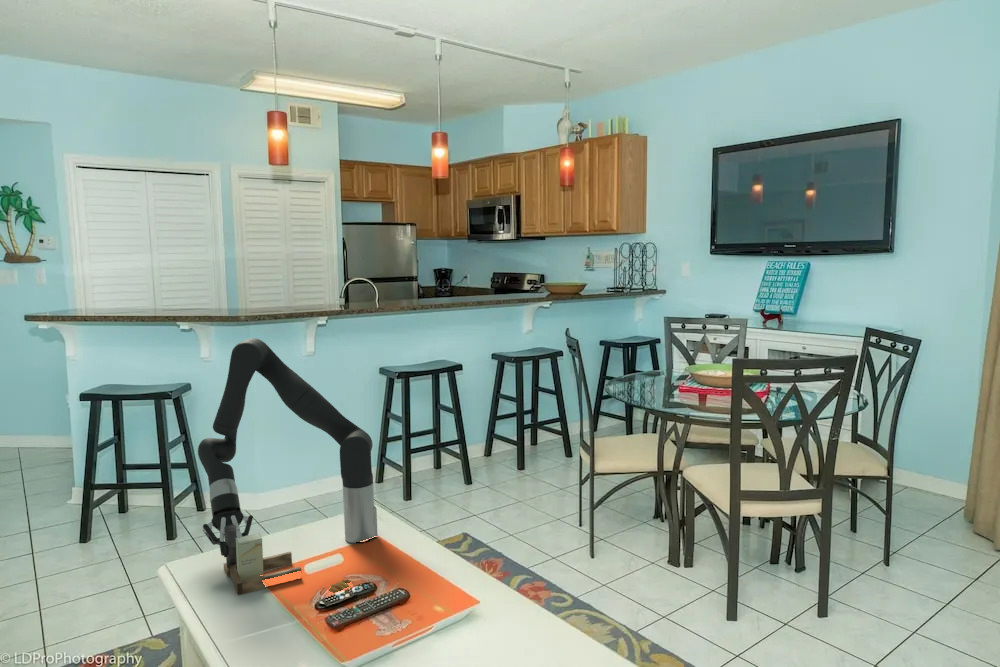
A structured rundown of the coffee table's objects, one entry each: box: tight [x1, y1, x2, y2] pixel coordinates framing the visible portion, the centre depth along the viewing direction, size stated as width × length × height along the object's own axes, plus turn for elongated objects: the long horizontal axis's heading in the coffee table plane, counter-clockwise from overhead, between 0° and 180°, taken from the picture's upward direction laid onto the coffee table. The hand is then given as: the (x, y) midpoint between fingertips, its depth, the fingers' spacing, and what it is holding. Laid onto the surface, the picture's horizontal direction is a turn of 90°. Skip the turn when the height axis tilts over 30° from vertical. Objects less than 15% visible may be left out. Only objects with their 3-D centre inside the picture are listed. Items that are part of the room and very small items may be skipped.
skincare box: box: [236, 532, 265, 581], centre depth 173 cm, size 6×4×12 cm
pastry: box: [329, 578, 352, 593], centre depth 163 cm, size 9×7×4 cm
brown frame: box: [223, 524, 302, 596], centre depth 177 cm, size 17×18×12 cm
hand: (232, 554), depth 178 cm, fingers closed on brown frame, 3 cm apart
